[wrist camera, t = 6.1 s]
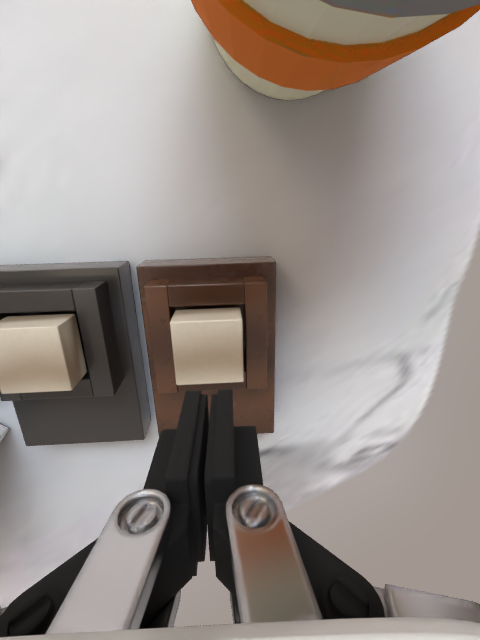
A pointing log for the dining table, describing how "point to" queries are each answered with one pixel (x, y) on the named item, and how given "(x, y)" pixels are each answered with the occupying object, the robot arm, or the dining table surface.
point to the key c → (40, 353)
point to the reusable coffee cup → (322, 38)
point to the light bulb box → (2, 431)
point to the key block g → (206, 293)
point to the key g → (207, 346)
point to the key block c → (98, 348)
